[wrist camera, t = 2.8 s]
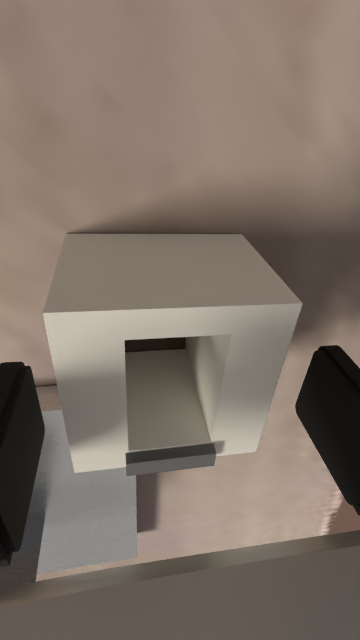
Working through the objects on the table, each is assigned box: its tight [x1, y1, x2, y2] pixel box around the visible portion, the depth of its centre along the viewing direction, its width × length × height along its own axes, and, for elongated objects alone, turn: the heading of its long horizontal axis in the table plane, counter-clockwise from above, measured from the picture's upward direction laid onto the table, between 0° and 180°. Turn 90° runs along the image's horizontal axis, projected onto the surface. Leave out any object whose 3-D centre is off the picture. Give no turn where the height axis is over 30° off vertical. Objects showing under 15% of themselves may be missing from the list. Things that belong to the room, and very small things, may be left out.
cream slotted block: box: [43, 234, 303, 476], centre depth 12 cm, size 6×6×5 cm
